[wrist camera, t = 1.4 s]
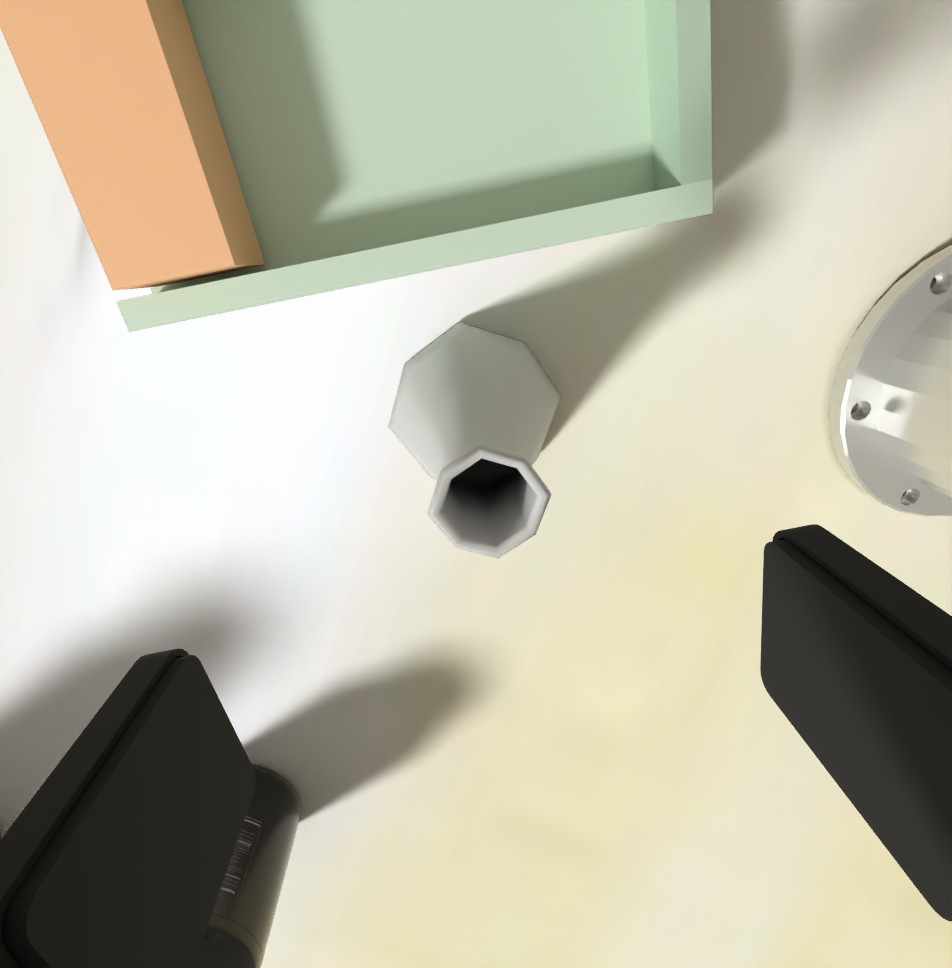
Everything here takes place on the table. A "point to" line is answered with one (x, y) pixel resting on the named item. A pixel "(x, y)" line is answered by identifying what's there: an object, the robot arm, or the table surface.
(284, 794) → the supplement bottle
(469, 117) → the pale green shallow box
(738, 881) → the table surface
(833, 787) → the table surface
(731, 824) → the table surface
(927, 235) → the table surface
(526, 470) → the flask
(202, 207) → the block
